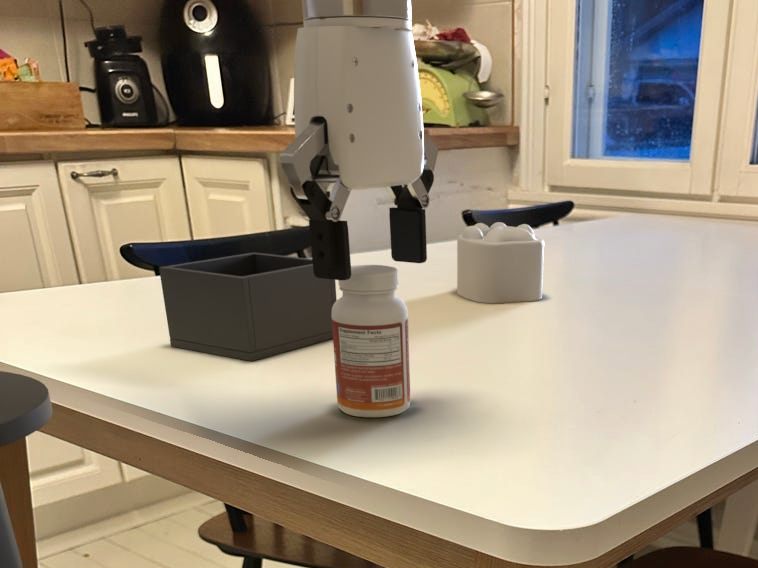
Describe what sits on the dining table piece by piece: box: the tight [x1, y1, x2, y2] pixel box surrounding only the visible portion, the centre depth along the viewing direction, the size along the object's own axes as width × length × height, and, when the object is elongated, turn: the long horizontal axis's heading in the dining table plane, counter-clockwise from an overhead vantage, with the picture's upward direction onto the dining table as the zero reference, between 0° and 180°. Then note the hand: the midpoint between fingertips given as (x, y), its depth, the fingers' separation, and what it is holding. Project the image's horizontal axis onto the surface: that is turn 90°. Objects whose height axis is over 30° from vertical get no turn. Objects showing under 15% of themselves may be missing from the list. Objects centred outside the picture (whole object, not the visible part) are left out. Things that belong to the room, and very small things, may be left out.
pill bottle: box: [331, 264, 411, 418], centre depth 75 cm, size 6×6×11 cm
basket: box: [158, 252, 338, 362], centre depth 97 cm, size 14×12×8 cm
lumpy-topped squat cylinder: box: [456, 221, 545, 304], centre depth 123 cm, size 10×13×9 cm
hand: (372, 269), depth 72 cm, fingers open, 9 cm apart
